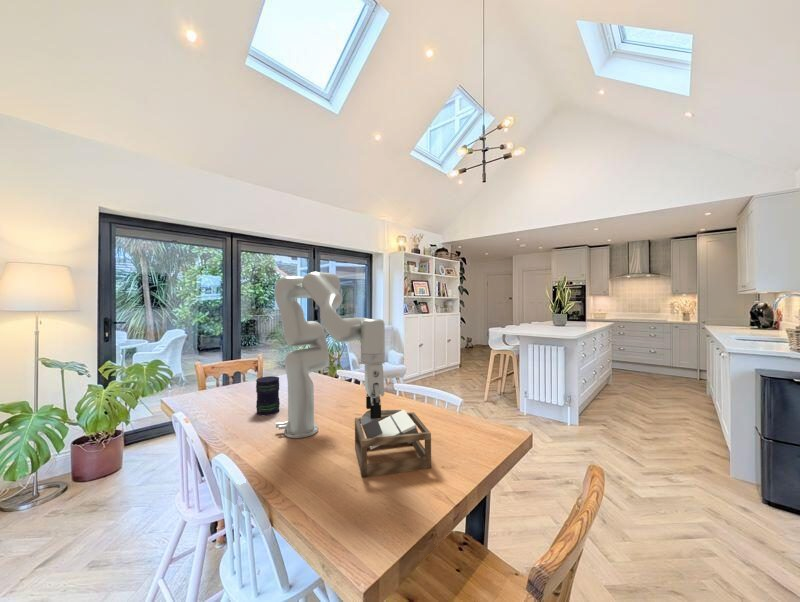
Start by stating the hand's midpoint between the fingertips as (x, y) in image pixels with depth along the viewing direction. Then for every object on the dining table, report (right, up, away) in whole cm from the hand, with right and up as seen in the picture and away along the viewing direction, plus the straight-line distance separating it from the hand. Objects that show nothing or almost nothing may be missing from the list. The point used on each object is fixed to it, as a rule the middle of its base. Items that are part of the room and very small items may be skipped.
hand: (373, 412), depth 101 cm
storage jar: (-52, -15, +44) cm, 70 cm away
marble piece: (+1, -15, +30) cm, 34 cm away
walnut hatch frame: (+5, -15, +1) cm, 16 cm away
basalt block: (0, -7, 0) cm, 7 cm away
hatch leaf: (+6, -9, +2) cm, 11 cm away
